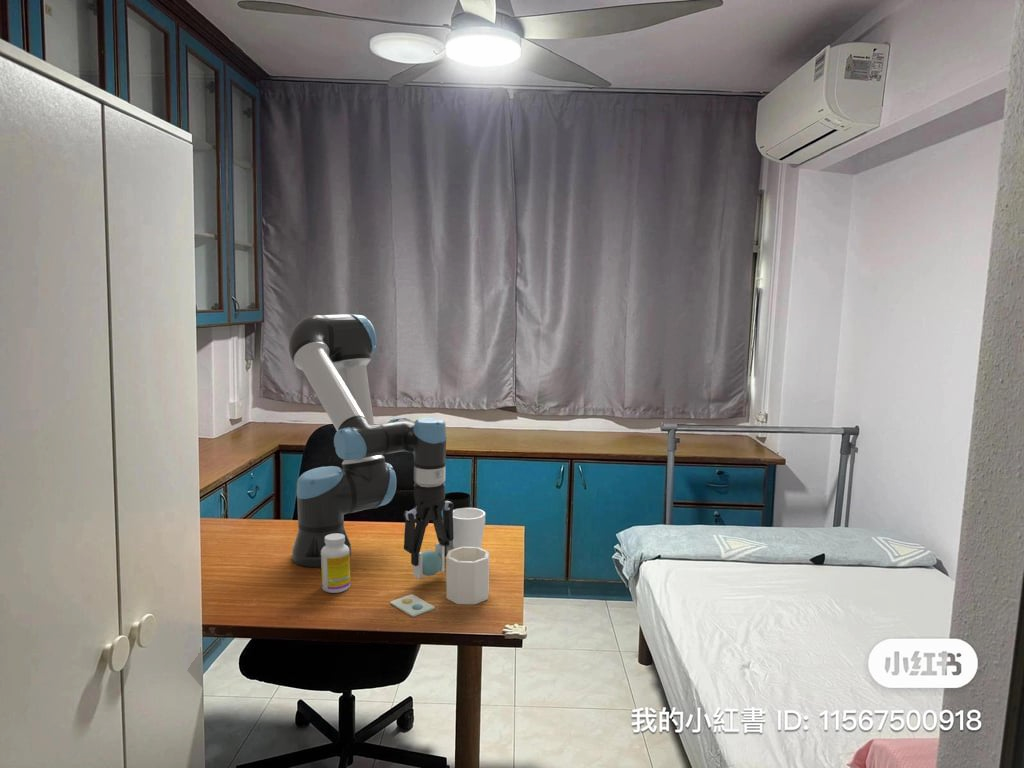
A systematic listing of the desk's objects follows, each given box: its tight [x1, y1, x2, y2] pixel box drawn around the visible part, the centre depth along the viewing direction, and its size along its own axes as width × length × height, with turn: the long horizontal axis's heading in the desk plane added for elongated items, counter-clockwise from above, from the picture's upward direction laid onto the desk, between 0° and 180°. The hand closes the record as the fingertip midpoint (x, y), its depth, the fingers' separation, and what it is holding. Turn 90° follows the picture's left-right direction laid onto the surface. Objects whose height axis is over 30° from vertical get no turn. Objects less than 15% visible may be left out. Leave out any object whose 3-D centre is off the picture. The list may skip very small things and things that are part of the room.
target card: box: [389, 593, 436, 618], centre depth 161 cm, size 9×6×1 cm, turn 43°
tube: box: [445, 547, 490, 605], centre depth 166 cm, size 10×10×10 cm
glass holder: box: [441, 491, 471, 555], centre depth 197 cm, size 9×14×15 cm, turn 7°
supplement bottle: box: [320, 533, 351, 594], centre depth 169 cm, size 7×7×13 cm
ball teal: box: [422, 550, 442, 577], centre depth 174 cm, size 6×6×6 cm
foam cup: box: [453, 507, 486, 549], centre depth 186 cm, size 10×9×13 cm
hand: (428, 573), depth 174 cm, fingers closed on ball teal, 6 cm apart
